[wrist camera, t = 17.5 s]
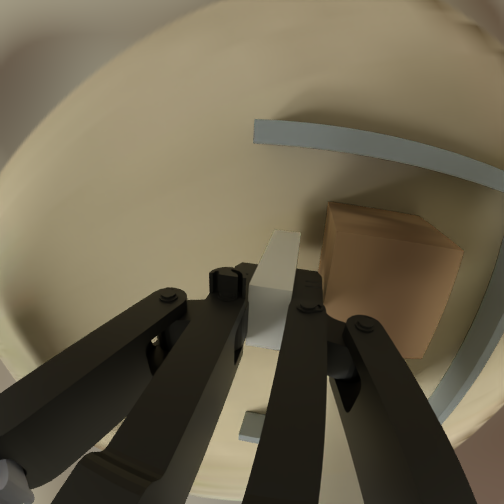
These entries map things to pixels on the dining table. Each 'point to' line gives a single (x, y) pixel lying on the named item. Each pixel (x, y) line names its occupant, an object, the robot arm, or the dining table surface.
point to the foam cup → (337, 461)
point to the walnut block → (387, 272)
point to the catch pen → (429, 157)
